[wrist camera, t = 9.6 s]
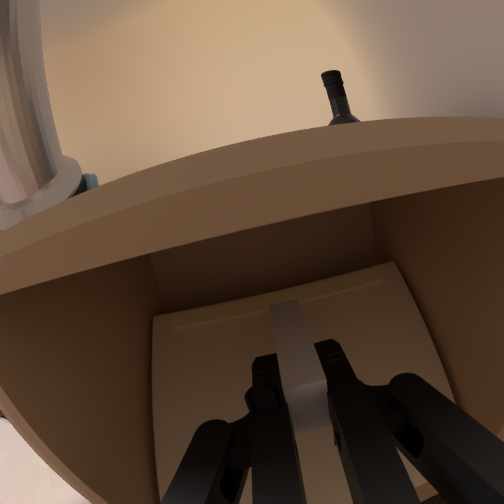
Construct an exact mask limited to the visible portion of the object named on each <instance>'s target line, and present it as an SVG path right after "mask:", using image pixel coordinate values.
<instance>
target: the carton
mask: <svg viewBox="0 0 504 504" xmlns="http://www.w3.org/2000/svg"><path fill="white" fill-rule="evenodd" d="M391 261H394V262H395V264H396V266H397V268H398V270H399V271H400V273H401V275H402V277H403V279H404V281H405V283H406V285H407V287H408V289H409V291H410V293H411V295H412V297H413V299H414V301H415V303H416V305H417V308H418V310H419V312H420V314H421V316H422V318H423V321H424V323H425V325H426V327H427V330H428V332H429V334H430V336H431V339H432V341H433V344H434V346H435V348H436V351H437V353H438V356H439V358H440V361H441V364H442V366H443V369H444V372H445V374H446V377H447V380H448V383H449V385H450V388H451V391H452V394H453V397H454V400H455V403H456V405H457V406H458V407H460V408H461V409H462V410H464V411H465V412H466V413H467V414H469V415H470V416H471V417H473V418H474V419H475V420H476V421H478V422H479V423H480V424H481V425H483V426H484V427H485V428H487V429H488V430H489V431H490V432H492V433H493V434H494V435H495V436H497V437H498V438H499V439H501V440H502V441H503V442H504V119H501V118H500V119H499V118H484V117H417V118H399V119H384V120H373V121H364V122H354V123H345V124H338V125H330V126H324V127H317V128H310V129H304V130H298V131H293V132H287V133H282V134H277V135H272V136H267V137H263V138H257V139H253V140H248V141H244V142H240V143H236V144H232V145H228V146H223V147H219V148H215V149H212V150H208V151H204V152H200V153H197V154H194V155H190V156H186V157H183V158H180V159H176V160H173V161H169V162H166V163H163V164H160V165H157V166H154V167H151V168H148V169H145V170H142V171H139V172H136V173H133V174H130V175H127V176H125V177H122V178H119V179H117V180H114V181H111V182H108V183H106V184H103V185H101V186H98V187H96V188H93V189H91V190H88V191H86V192H83V193H81V194H79V195H76V196H74V197H71V198H69V199H67V200H65V201H62V202H60V203H58V204H56V205H53V206H51V207H49V208H47V209H45V210H43V211H41V212H39V213H37V214H35V215H32V216H30V217H28V218H26V219H24V220H23V221H21V222H19V223H17V224H15V225H13V226H11V227H9V228H7V229H5V230H4V231H2V232H0V410H1V411H2V412H3V414H4V415H5V416H6V418H7V419H8V420H9V422H10V423H11V424H12V425H13V427H14V428H15V429H16V430H17V432H18V433H19V434H20V435H21V436H22V437H23V439H24V440H25V441H26V442H27V443H28V444H29V445H30V447H31V448H32V449H33V450H34V451H35V452H36V453H37V454H38V455H39V456H40V457H41V458H42V459H43V460H44V461H45V462H46V463H47V464H48V465H49V466H50V467H51V468H52V469H53V470H54V471H55V472H56V473H57V474H58V475H59V476H60V477H61V478H62V479H63V480H65V481H66V482H67V483H68V484H69V485H70V486H71V487H72V488H74V489H75V490H76V491H77V492H78V493H80V494H81V495H82V496H83V497H85V498H86V499H87V500H88V501H90V502H91V503H92V504H160V503H161V502H160V494H159V486H158V478H157V468H156V457H155V445H154V429H153V407H152V336H153V316H157V315H162V314H168V313H173V312H178V311H184V310H189V309H194V308H199V307H204V306H209V305H214V304H218V303H223V302H228V301H233V300H237V299H242V298H247V297H251V296H256V295H260V294H264V293H269V292H273V291H278V290H282V289H286V288H290V287H294V286H299V285H303V284H307V283H311V282H315V281H319V280H323V279H327V278H331V277H335V276H339V275H343V274H346V273H350V272H354V271H358V270H361V269H365V268H369V267H373V266H376V265H380V264H383V263H387V262H391ZM415 490H416V493H417V495H418V497H419V500H420V502H422V501H424V500H426V499H428V498H430V497H432V496H434V495H436V494H438V492H437V491H436V490H435V489H434V488H433V487H432V485H431V484H430V483H429V482H426V483H424V484H422V485H420V486H418V487H416V488H415Z"/></svg>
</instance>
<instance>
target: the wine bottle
mask: <svg viewBox="0 0 504 504" xmlns="http://www.w3.org/2000/svg"><path fill="white" fill-rule="evenodd" d="M321 77H322V80H323V83H324V87H325V88H326V91H327V94H328V98H329V101H330V105H331V109H332V112H333V119H332V120H331V122H330V124H329V125H328V126H330V125H338V124H345V123H354V122H361V121H360V120H358V119H357V118H356V117H354V116H353V115H352V114H351V112H350V108H349V104H348V101H347V97H346V93H345V90H344V87H343V81H342V78H341V73H340V71H338V70H331V71H326V72H324V73H322V74H321Z"/></svg>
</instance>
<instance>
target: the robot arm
mask: <svg viewBox="0 0 504 504" xmlns="http://www.w3.org/2000/svg"><path fill="white" fill-rule="evenodd" d="M98 186H99V185H98V181H97V177H96V175H95V174H87V173H86V174H84V175H83V174H82V171H81V168H80V165H79V164H78V162H77V161H76V160H74V159H73V158H70V157H68V156H64V155H62V152H61V148H60V145H59V141H58V136H57V132H56V128H55V124H54V119H53V115H52V110H51V105H50V100H49V94H48V88H47V82H46V76H45V68H44V60H43V51H42V41H41V24H40V0H0V232H2V231H4V230H5V229H7V228H9V227H11V226H13V225H15V224H17V223H19V222H21V221H23V220H24V219H26V218H28V217H30V216H32V215H35V214H37V213H39V212H41V211H43V210H45V209H47V208H49V207H51V206H53V205H56V204H58V203H60V202H62V201H65V200H67V199H69V198H71V197H74V196H76V195H79V194H81V193H83V192H86V191H88V190H91V189H93V188H96V187H98ZM269 310H270V315H271V321H272V327H273V334H274V340H275V346H276V352H277V353H273V354H268V355H264V356H259V357H256V358H255V360H254V361H253V363H252V387H250V388H249V389H248V390H247V392H246V393H245V396H244V399H245V402H246V404H247V407H248V409H249V413H248V414H247V415H245V416H244V417H243V418H241V419H239V420H236V421H234V422H231V423H228V422H226V421H225V420H221V419H211V420H209V421H206V422H204V423H203V424H201V425H200V426H199V427H198V428H197V430H196V431H195V433H194V435H193V438H192V440H191V442H190V444H189V446H188V448H187V450H186V452H185V454H184V456H183V458H182V460H181V462H180V465H179V467H178V469H177V471H176V473H175V475H174V477H173V479H172V481H171V483H170V485H169V487H168V489H167V491H166V493H165V495H164V497H163V499H162V501H161V503H160V504H239V502H240V499H241V496H242V493H243V489H244V486H245V483H246V479H247V476H248V472H249V468H250V467H251V473H252V504H307V500H306V494H305V489H304V483H303V477H302V471H301V466H300V460H299V454H298V449H297V444H296V440H295V435H294V434H298V433H303V432H307V431H312V430H316V429H320V428H324V427H328V426H331V423H332V427H333V433H334V446H336V445H337V449H338V452H339V456H340V459H341V462H342V466H343V469H344V473H345V476H346V480H347V483H348V487H349V490H350V494H351V498H352V501H353V504H421V502H420V500H419V497H418V495H417V493H416V490H415V488H414V486H413V484H412V481H411V479H410V477H409V475H408V472H407V470H406V468H405V466H404V464H403V461H402V459H401V457H400V455H399V453H398V451H397V449H398V450H399V451H400V452H401V453H402V454H403V455H404V456H405V457H406V458H407V460H408V461H409V462H410V463H411V464H412V465H413V466H414V467H415V468H416V469H417V470H418V472H419V473H420V474H421V475H422V476H423V477H424V478H425V479H426V480H427V481H428V482H429V483H430V484H431V485H432V487H433V488H434V489H435V490H436V491H437V492H438V493H439V494H440V495H441V496H442V497H443V498H444V499H445V500H446V501H447V502H448V503H449V504H504V442H503V441H502V440H501V439H499V438H498V437H497V436H495V435H494V434H493V433H492V432H490V431H489V430H488V429H487V428H485V427H484V426H483V425H481V424H480V423H479V422H478V421H476V420H475V419H474V418H473V417H471V416H470V415H469V414H467V413H466V412H465V411H464V410H462V409H461V408H460V407H458V406H457V405H456V404H455V403H453V402H452V401H451V400H450V399H448V398H447V397H446V396H444V395H443V394H442V393H441V392H439V391H438V390H437V389H435V388H434V387H433V386H432V385H430V384H429V383H428V382H426V381H425V380H424V379H423V378H421V377H420V376H418V375H416V374H414V373H408V372H407V373H401V374H398V375H396V376H394V377H393V378H392V379H391V380H390V382H389V384H388V385H380V386H371V385H366V384H364V383H363V382H362V381H361V380H358V378H357V377H356V375H355V373H354V371H353V369H352V367H351V365H350V363H349V361H348V359H347V357H346V355H345V353H344V352H343V349H342V347H341V345H340V343H338V342H337V341H335V340H334V339H328V340H324V341H320V342H317V343H313V341H312V339H311V336H310V333H309V331H308V328H307V325H306V323H305V320H304V318H303V315H302V312H301V310H300V307H299V304H298V302H297V299H295V300H290V301H286V302H282V303H278V304H273V305H269ZM0 416H4V417H6V416H5V415H4V414H3V412H2V411H1V410H0Z"/></svg>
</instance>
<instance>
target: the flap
mask: <svg viewBox="0 0 504 504" xmlns="http://www.w3.org/2000/svg"><path fill="white" fill-rule="evenodd" d="M295 299H297V302H298V304H299V307H300V310H301V312H302V315H303V318H304V320H305V323H306V325H307V328H308V331H309V333H310V336H311V339H312V341H313V343H317V342H320V341H324V340H328V339H334V340H335V341H337V342H338V343H340V345H341V347H342V349H343V352H344V353H345V355H346V357H347V359H348V361H349V363H350V365H351V367H352V369H353V371H354V373H355V375H356V377H357V378H358V380H361V381H362V382H363V383H364V384H366V385H371V386H380V385H388V384H389V382H390V380H391V379H392V378H393V377H394V376H396V375H398V374H401V373H407V372H408V373H414V374H416V375H418V376H420V377H421V378H423V379H424V380H425V381H426V382H428V383H429V384H430V385H432V386H433V387H434V388H435V389H437V390H438V391H439V392H441V393H442V394H443V395H444V396H446V397H447V398H448V399H450V400H451V401H452V402H453V403H455V400H454V397H453V394H452V391H451V388H450V385H449V383H448V380H447V377H446V374H445V372H444V369H443V366H442V364H441V361H440V358H439V356H438V353H437V351H436V348H435V346H434V344H433V341H432V339H431V336H430V334H429V332H428V330H427V327H426V325H425V323H424V321H423V318H422V316H421V314H420V312H419V310H418V308H417V305H416V303H415V301H414V299H413V297H412V295H411V293H410V291H409V289H408V287H407V285H406V283H405V281H404V279H403V277H402V275H401V273H400V271H399V270H398V268H397V266H396V264H395V262H394V261H391V262H387V263H383V264H380V265H376V266H373V267H369V268H365V269H361V270H358V271H354V272H350V273H346V274H343V275H339V276H335V277H331V278H327V279H323V280H319V281H315V282H311V283H307V284H303V285H299V286H294V287H290V288H286V289H282V290H278V291H273V292H269V293H264V294H260V295H256V296H251V297H247V298H242V299H237V300H233V301H228V302H223V303H218V304H214V305H209V306H204V307H199V308H194V309H189V310H184V311H178V312H173V313H168V314H162V315H157V316H153V336H152V407H153V429H154V445H155V457H156V468H157V478H158V486H159V494H160V502H161V501H162V499H163V497H164V495H165V493H166V491H167V489H168V487H169V485H170V483H171V481H172V479H173V477H174V475H175V473H176V471H177V469H178V467H179V465H180V462H181V460H182V458H183V456H184V454H185V452H186V450H187V448H188V446H189V444H190V442H191V440H192V438H193V435H194V433H195V431H196V430H197V428H198V427H199V426H200V425H201V424H203V423H204V422H206V421H209V420H211V419H221V420H225V421H226V422H228V423H231V422H234V421H236V420H239V419H241V418H243V417H244V416H245V415H247V414H248V413H249V409H248V407H247V404H246V402H245V399H244V396H245V393H246V392H247V390H248V389H249V388H250V387H252V363H253V361H254V360H255V358H256V357H259V356H264V355H268V354H273V353H277V352H276V346H275V340H274V334H273V327H272V321H271V315H270V310H269V305H273V304H278V303H282V302H286V301H290V300H295ZM455 404H456V403H455ZM294 435H295V440H296V444H297V449H298V454H299V460H300V466H301V471H302V477H303V483H304V489H305V494H306V500H307V504H353V501H352V498H351V494H350V490H349V487H348V483H347V480H346V476H345V473H344V469H343V466H342V462H341V459H340V456H339V452H338V449H337V445H336V446H334V433H333V427H332V423H331V426H328V427H324V428H320V429H316V430H312V431H307V432H303V433H298V434H294ZM397 451H398V453H399V455H400V457H401V459H402V461H403V464H404V466H405V468H406V470H407V472H408V475H409V477H410V479H411V481H412V484H413V486H414V488H416V487H418V486H420V485H422V484H424V483H426V482H428V481H427V480H426V479H425V478H424V477H423V476H422V475H421V474H420V473H419V472H418V470H417V469H416V468H415V467H414V466H413V465H412V464H411V463H410V462H409V461H408V460H407V458H406V457H405V456H404V455H403V454H402V453H401V452H400V451H399V450H398V449H397ZM239 504H252V473H251V467H250V468H249V472H248V476H247V479H246V483H245V486H244V489H243V493H242V496H241V499H240V502H239Z"/></svg>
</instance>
